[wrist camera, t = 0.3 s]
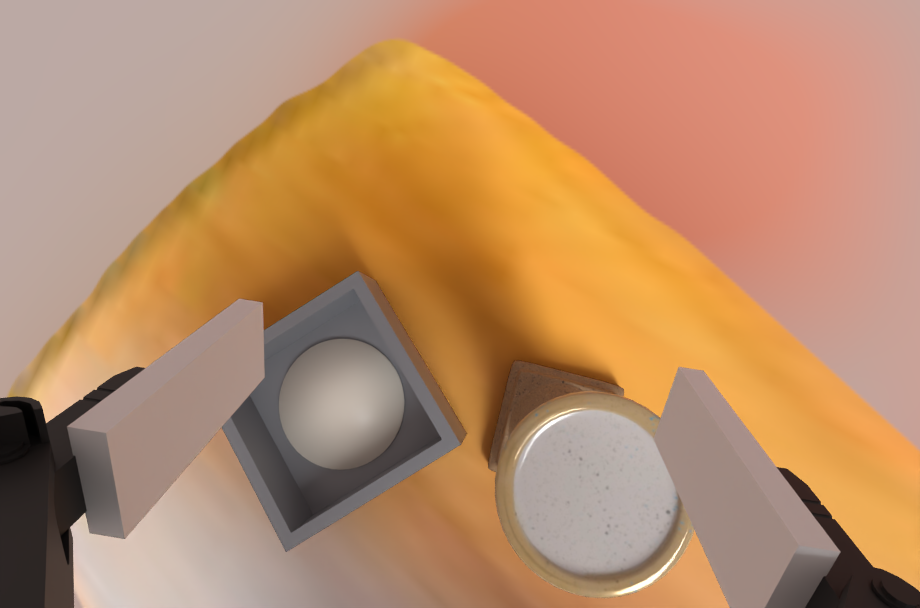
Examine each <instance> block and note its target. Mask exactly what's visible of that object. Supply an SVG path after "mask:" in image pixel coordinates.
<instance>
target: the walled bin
mask: <svg viewBox="0 0 920 608" xmlns="http://www.w3.org/2000/svg"><path fill="white" fill-rule="evenodd" d="M264 370H265V378H264V379H263V380H262V381H261V382H260V383H259V385H258V386H257V387H256V388H255V389H254V390H253V391H252V393H251V394H250V395H249V396H248V397H247V398H246V400H245V401H244V402H243V403H242V404H241V405H240V406H239V408H238V409H237V410H236V411H235V412H234V413H233V415H232V416H231V417H230V418H229V419H228V420H227V422H226V423H225V424H224V425H223V426H222V429H223V431H224V433H225V435H226V437H227V438H228V440H229V442H230V444H231V446H232V448H233V450H234V452H235V454H236V456H237V458H238V460H239V462H240V464H241V466H242V468H243V470H244V471H245V473H246V475H247V477H248V479H249V481H250V483H251V485H252V487H253V489H254V491H255V493H256V495H257V497H258V499H259V501H260V503H261V504H262V506H263V508H264V510H265V512H266V514H267V516H268V518H269V520H270V522H271V524H272V526H273V528H274V530H275V532H276V534H277V535H278V537H279V539H280V541H281V543H282V545H283V547H284V549H285V551H286V552H287V551H289V550H290V549H292V548H294V547H295V546H297V545H298V544H300V543H302V542H303V541H305V540H307V539H308V538H310V537H311V536H313V535H315V534H316V533H318V532H320V531H321V530H323V529H324V528H326V527H328V526H329V525H331V524H333V523H334V522H336V521H337V520H339V519H341V518H342V517H344V516H346V515H347V514H349V513H350V512H352V511H354V510H355V509H357V508H359V507H360V506H362V505H363V504H365V503H367V502H368V501H370V500H372V499H373V498H375V497H376V496H378V495H380V494H381V493H383V492H385V491H386V490H388V489H389V488H391V487H393V486H394V485H396V484H398V483H399V482H401V481H402V480H404V479H406V478H407V477H409V476H411V475H412V474H414V473H415V472H417V471H419V470H420V469H422V468H424V467H425V466H427V465H428V464H430V463H432V462H433V461H435V460H437V459H438V458H440V457H441V456H443V455H445V454H446V453H448V452H450V451H451V450H453V449H454V448H456V447H458V446H459V445H461V443H462V442H463V440H464V438H465V436H466V435H467V433H466V432H465V430H464V428H463V426H462V425H461V423H460V421H459V420H458V418H457V416H456V415H455V413H454V411H453V410H452V408H451V406H450V405H449V403H448V401H447V400H446V398H445V396H444V395H443V393H442V391H441V390H440V388H439V386H438V385H437V383H436V381H435V379H434V378H433V376H432V374H431V373H430V371H429V369H428V368H427V366H426V364H425V363H424V361H423V359H422V358H421V356H420V354H419V353H418V351H417V349H416V348H415V346H414V344H413V343H412V341H411V339H410V337H409V336H408V334H407V332H406V331H405V329H404V327H403V326H402V324H401V322H400V321H399V319H398V317H397V316H396V314H395V312H394V311H393V309H392V307H391V306H390V304H389V302H388V301H387V299H386V297H385V296H384V294H383V292H382V290H381V289H380V287H379V285H378V284H377V282H376V280H374V279H372V278H370V277H368V276H367V275H365V274H363V273H361V272H359V271H357V272H355V273H354V274H352V275H350V276H349V277H347V278H346V279H344V280H343V281H341V282H339V283H338V284H336V285H335V286H333V287H332V288H330V289H328V290H327V291H325V292H324V293H322V294H320V295H319V296H317V297H316V298H314V299H313V300H311V301H309V302H308V303H306V304H305V305H303V306H302V307H300V308H298V309H297V310H295V311H294V312H292V313H291V314H289V315H287V316H286V317H284V318H283V319H281V320H279V321H278V322H276V323H275V324H273V325H272V326H270V327H268V328H267V329H265V330H264Z"/></svg>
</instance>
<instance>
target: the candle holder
mask: <svg viewBox="0 0 920 608" xmlns="http://www.w3.org/2000/svg"><path fill="white" fill-rule="evenodd" d="M623 396H624V389H623V388H621V387H620V386H617V385H614V384H610V383H607V382H604V381H600V380H596V379H592V378H588V377H584V376H580V375H577V374H573V373H569V372H565V371H561V370H557V369H553V368H549V367H545V366H541V365H537V364H533V363H529V362H524V361H519V360H516V361H514V362H513V364H512V367H511V370H510V374H509V377H508V381H507V385H506V389H505V393H504V398H503V402H502V406H501V410H500V414H499V418H498V422H497V426H496V430H495V435H494V439H493V443H492V447H491V452H490V457H489V463H488V468H489V469H490V470H492V471H494V472H496V477H495V500H496V506H497V512H498V516H499V519H500V522H501V525H502V528H503V531H504V533H505V535H506V537H507V539H508V541H509V543H510V545H511V546H512V548H513V549H514V551H515V552H516V553H517V555H518V556H519V558H520V559H521V560H522V561H523V562H524V563H525V564H526V565H527V566H528V567H529V569H531V570H532V571H533V572H534V573H536V574H537V575H538V576H539V577H540V578H542V579H543V580H545V581H547V582H548V583H550V584H552V585H553V586H555V587H557V588H559V589H562V590H564V591H567V592H569V593H572V594H576V595H580V596H585V597H592V598H612V597H621V596H625V595H629V594H632V593H636V592H638V591H640V590H643V589H645V588H647V587H649V586H651V585H652V584H654V583H655V582H657V581H658V580H660V579H661V578H663V577H664V576H665V575H666V574H667V573H668V572H669V571H670V570H671V569H672V568H673V567H674V566H675V565H676V564H677V562H678V561H679V560H680V558H681V557H682V556H683V554H684V553H685V551H686V549H687V547H688V545H689V543H690V541H691V539H692V536H693V533H694V527H693V525H692V523H691V521H690V519H689V516H688V514H687V512H686V510H685V508H684V505H683V503H682V501H681V499H680V496H679V494H678V492H677V490H676V488H675V485H674V483H673V481H672V479H671V477H670V474H669V472H668V470H667V468H666V466H665V463H664V461H663V459H662V457H661V455H660V452H659V450H658V448H657V446H656V444H655V441H654V436H655V433H656V430H657V427H658V425H659V422H660V419H661V418H660V417H658V416H657V415H656V414H654V413H653V412H652V411H650V410H649V409H647V408H646V407H644V406H642V405H641V404H639V403H637V402H635V401H633V400H631V399H628V398H625V397H623Z"/></svg>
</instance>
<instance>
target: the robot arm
mask: <svg viewBox="0 0 920 608" xmlns="http://www.w3.org/2000/svg"><path fill="white" fill-rule="evenodd" d="M264 378H265V370H264V329H263V302H257V301H251V300H244V299H238V300H237V301H235V302H234V303H233V304H231V305H230V306H229V307H227V308H226V309H225V310H223V311H222V312H221V313H219V314H218V315H216V316H215V317H214V318H212V319H211V320H210V321H208V322H207V323H206V324H204V325H203V326H202V327H200V328H199V329H198V330H196V331H195V332H194V333H192V334H191V335H190V336H188V337H187V338H186V339H184V340H183V341H181V342H180V343H179V344H177V345H176V346H175V347H173V348H172V349H171V350H169V351H168V352H167V353H165V354H164V355H163V356H161V357H160V358H159V359H157V360H156V361H155V362H153V363H152V364H151V365H149V366H148V367H147V368H141V367H135V368H132V369H130V370H127V371H125V372H122V373H120V374H117V375H115V376H113V377H112V378H110V379H109V380H107V381H106V382H105V383H103V384H102V385H100V386H99V387H97V390H93V391H92V392H90V393H89V394H87V395H86V396H85V397H84V398H83V400H79V401H77V402H76V403H75V404H73V405H72V406H70V407H69V408H68V409H66V410H65V411H63V412H62V413H60V414H59V415H58V416H56V417H55V418H53V419H52V420H50V421H49V422H48V423H46V422H45V418H44V413H43V409H42V406H41V404H40V402H39V401H36V400H34V399H32V398H27V397H8V398H0V608H74V581H73V537H72V533H71V529H70V527H71V526H72V525H73V524H74V523H75V522H76V521H77V520H78V519H79V518H80V517H81V516H82V515H83V514H84V513H86V518H87V523H88V527H89V532H90V533H92V534H98V535H104V536H110V537H116V538H122V539H125V538H126V537H127V536H128V535H129V534H130V532H131V531H132V530H133V529H134V528H135V527H136V526H137V524H138V523H139V522H140V521H141V520H142V519H143V517H144V516H145V515H146V514H147V513H148V512H149V511H150V509H151V508H152V507H153V506H154V505H155V504H156V502H157V501H158V500H159V499H160V498H161V497H162V495H163V494H164V493H165V492H166V491H167V490H168V489H169V487H170V486H171V485H172V484H173V483H174V482H175V480H176V479H177V478H178V477H179V476H180V475H181V474H182V472H183V471H184V470H185V469H186V468H187V467H188V465H189V464H190V463H191V462H192V461H193V460H194V458H195V457H196V456H197V455H198V454H199V453H200V452H201V450H202V449H203V448H204V447H205V446H206V445H207V443H208V442H209V441H210V440H211V439H212V438H213V437H214V435H215V434H216V433H217V432H218V431H219V430H220V428H221V427H222V426H223V425H224V424H225V423H226V422H227V420H228V419H229V418H230V417H231V416H232V415H233V413H234V412H235V411H236V410H237V409H238V408H239V406H240V405H241V404H242V403H243V402H244V401H245V400H246V398H247V397H248V396H249V395H250V394H251V393H252V391H253V390H254V389H255V388H256V387H257V386H258V385H259V383H260V382H261V381H262V380H263V379H264ZM654 441H655V444H656V446H657V448H658V450H659V452H660V455H661V457H662V459H663V461H664V463H665V466H666V468H667V470H668V472H669V474H670V477H671V479H672V481H673V483H674V485H675V488H676V490H677V492H678V494H679V496H680V499H681V501H682V503H683V505H684V508H685V510H686V512H687V514H688V516H689V519H690V521H691V523H692V525H693V527H694V530H695V532H696V534H697V536H698V538H699V541H700V543H701V545H702V547H703V549H704V552H705V554H706V556H707V558H708V560H709V563H710V565H711V567H712V569H713V571H714V574H715V576H716V578H717V580H718V582H719V585H720V587H721V589H722V591H723V594H724V596H725V598H726V600H727V602H728V605H729V607H730V608H920V592H919V591H918V590H917V589H916V588H915V587H913V586H912V585H910V584H909V583H907V582H905V581H904V580H902V579H901V578H899V577H898V576H895V575H893V574H891V573H889V572H887V571H885V570H882V569H878V568H874V567H873V566H872V565H871V564H870V563H869V561H868V560H867V559H866V558H865V556H864V555H863V554H862V553H861V551H860V550H859V549H858V548H857V546H856V545H855V544H854V543H853V541H852V540H851V539H850V538H849V536H848V535H847V534H846V533H845V531H844V530H843V529H842V528H841V526H840V525H839V524H838V523H837V521H836V520H835V519H832V515H831V514H830V513H829V511H828V510H827V509H826V508H825V506H824V505H821V502H820V500H819V499H818V498H817V497H816V495H815V494H814V493H813V492H812V490H811V489H810V488H809V487H808V485H807V484H805V483H804V482H803V481H802V480H800V479H799V478H798V477H797V476H795V475H794V474H793V473H792V472H790V471H789V470H788V469H785V468H779V467H776V466H775V465H774V463H773V462H772V461H771V459H770V458H769V457H768V455H767V454H766V453H765V451H764V450H763V449H762V447H761V446H760V445H759V443H758V442H757V441H756V440H755V438H754V437H753V436H752V434H751V433H750V432H749V430H748V429H747V428H746V426H745V425H744V424H743V422H742V421H741V420H740V418H739V417H738V416H737V414H736V413H735V412H734V410H733V409H732V408H731V406H730V405H729V404H728V403H727V401H726V400H725V399H724V397H723V396H722V395H721V393H720V392H719V391H718V389H717V388H716V387H715V385H714V384H713V383H712V381H711V380H710V379H709V377H708V376H707V375H706V373H705V372H704V371H702V370H695V369H689V368H682V367H679V368H678V370H677V373H676V376H675V379H674V382H673V385H672V388H671V390H670V393H669V396H668V399H667V402H666V405H665V407H664V410H663V413H662V416H661V419H660V422H659V425H658V427H657V430H656V433H655V436H654Z"/></svg>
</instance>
